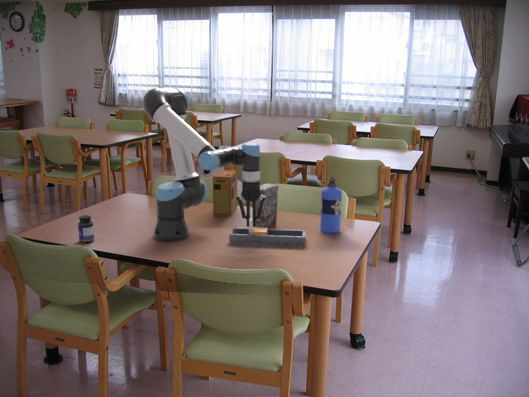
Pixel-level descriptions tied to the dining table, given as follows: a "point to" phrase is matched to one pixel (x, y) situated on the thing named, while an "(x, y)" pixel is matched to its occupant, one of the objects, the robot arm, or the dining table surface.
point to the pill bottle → (85, 229)
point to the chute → (269, 238)
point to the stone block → (267, 206)
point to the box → (224, 193)
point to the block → (259, 231)
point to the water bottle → (331, 208)
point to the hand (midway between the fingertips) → (251, 233)
